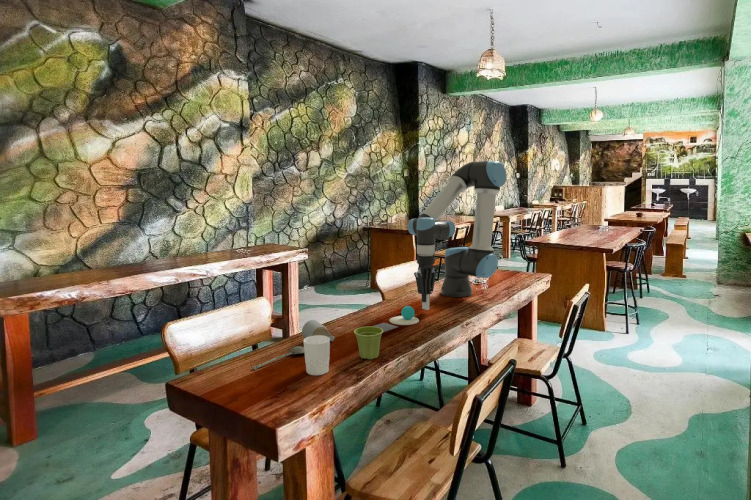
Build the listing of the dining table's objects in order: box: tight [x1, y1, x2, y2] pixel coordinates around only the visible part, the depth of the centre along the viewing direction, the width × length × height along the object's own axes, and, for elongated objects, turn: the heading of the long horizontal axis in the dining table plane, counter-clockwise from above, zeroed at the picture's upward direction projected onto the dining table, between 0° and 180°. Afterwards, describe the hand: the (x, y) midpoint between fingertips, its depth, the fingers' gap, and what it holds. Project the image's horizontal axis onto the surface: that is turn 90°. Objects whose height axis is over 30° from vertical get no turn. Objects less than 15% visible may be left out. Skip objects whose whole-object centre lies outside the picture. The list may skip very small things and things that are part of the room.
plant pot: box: [353, 326, 384, 360], centre depth 155 cm, size 9×9×9 cm
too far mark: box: [371, 322, 399, 333], centre depth 185 cm, size 8×8×1 cm
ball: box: [401, 305, 416, 319], centre depth 195 cm, size 6×6×6 cm
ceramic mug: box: [301, 319, 335, 342], centre depth 169 cm, size 11×8×8 cm
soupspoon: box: [252, 346, 304, 371], centre depth 154 cm, size 22×3×7 cm
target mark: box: [388, 315, 420, 326], centre depth 193 cm, size 12×12×1 cm
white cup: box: [302, 335, 331, 376], centre depth 144 cm, size 8×8×10 cm
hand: (425, 308), depth 203 cm, fingers closed
